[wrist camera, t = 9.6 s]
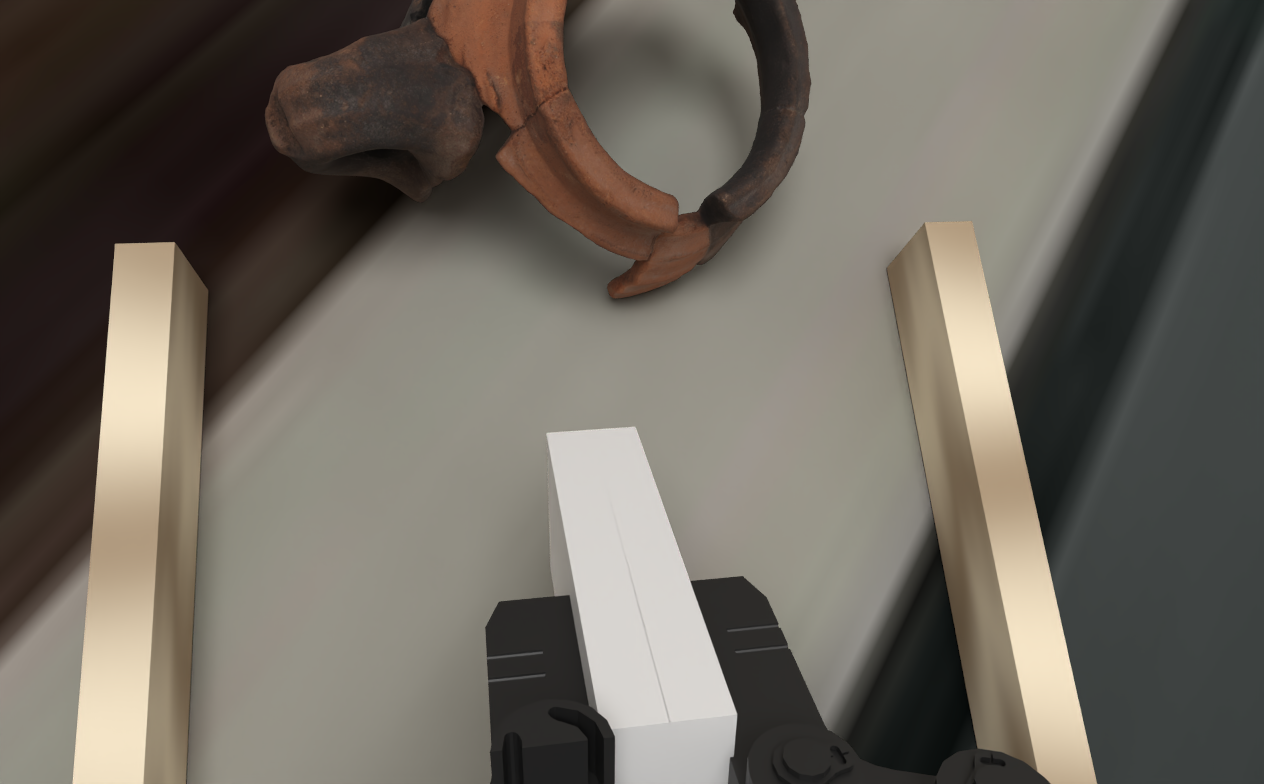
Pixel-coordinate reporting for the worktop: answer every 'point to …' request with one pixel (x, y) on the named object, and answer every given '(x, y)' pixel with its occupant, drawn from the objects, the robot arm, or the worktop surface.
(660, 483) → the worktop surface
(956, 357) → the guide channel
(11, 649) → the worktop surface
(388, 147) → the broken clay vessel
